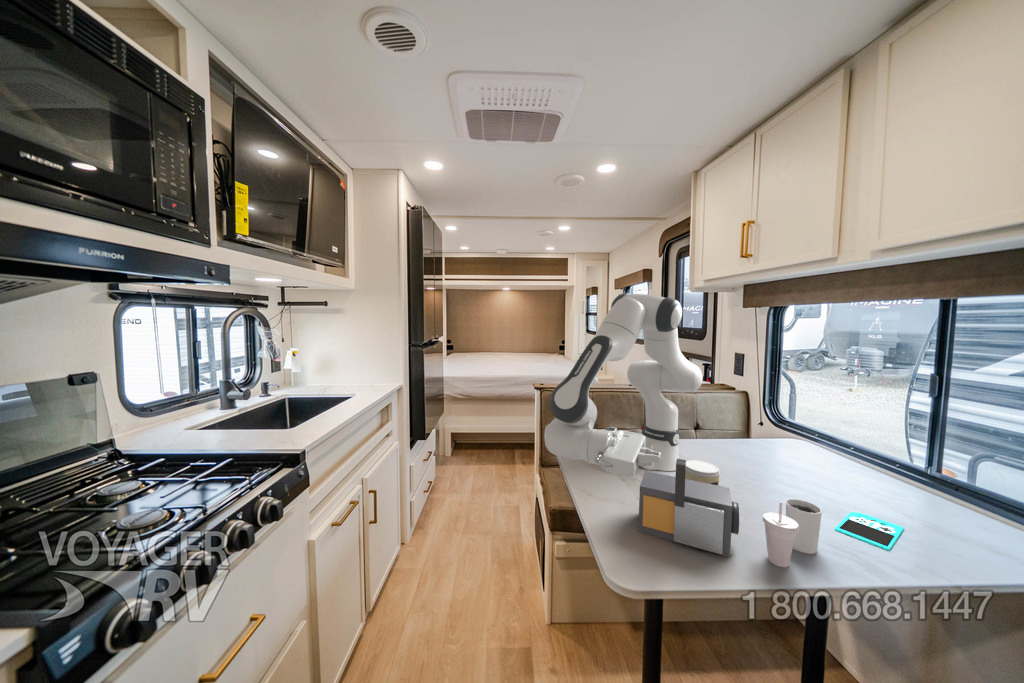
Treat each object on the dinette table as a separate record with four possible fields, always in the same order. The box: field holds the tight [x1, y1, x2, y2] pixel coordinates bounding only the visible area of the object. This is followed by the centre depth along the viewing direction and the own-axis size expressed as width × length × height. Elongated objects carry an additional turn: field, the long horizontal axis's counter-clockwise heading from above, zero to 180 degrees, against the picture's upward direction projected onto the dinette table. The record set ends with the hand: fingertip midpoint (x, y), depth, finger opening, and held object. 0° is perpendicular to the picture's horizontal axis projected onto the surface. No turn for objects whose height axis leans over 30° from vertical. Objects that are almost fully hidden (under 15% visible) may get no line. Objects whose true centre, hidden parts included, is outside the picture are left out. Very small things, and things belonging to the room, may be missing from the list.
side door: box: [673, 458, 724, 556], centre depth 80 cm, size 10×4×20 cm, turn 61°
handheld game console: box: [834, 511, 905, 552], centre depth 90 cm, size 10×16×1 cm, turn 123°
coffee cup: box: [685, 459, 721, 486], centre depth 101 cm, size 9×9×12 cm
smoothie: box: [762, 501, 799, 568], centre depth 78 cm, size 6×6×14 cm
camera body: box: [638, 470, 740, 558], centre depth 88 cm, size 22×10×12 cm, turn 61°
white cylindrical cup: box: [785, 498, 823, 555], centre depth 83 cm, size 7×7×10 cm
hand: (660, 458), depth 84 cm, fingers closed
